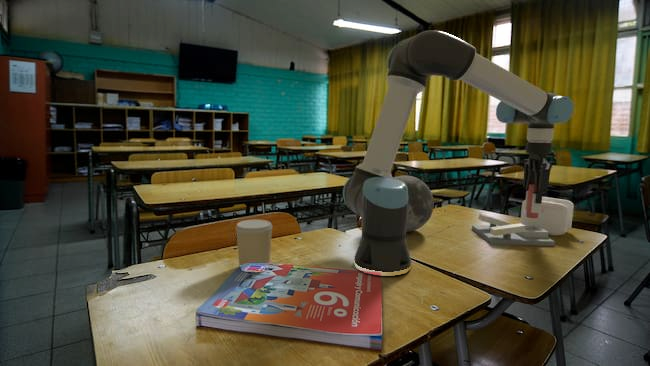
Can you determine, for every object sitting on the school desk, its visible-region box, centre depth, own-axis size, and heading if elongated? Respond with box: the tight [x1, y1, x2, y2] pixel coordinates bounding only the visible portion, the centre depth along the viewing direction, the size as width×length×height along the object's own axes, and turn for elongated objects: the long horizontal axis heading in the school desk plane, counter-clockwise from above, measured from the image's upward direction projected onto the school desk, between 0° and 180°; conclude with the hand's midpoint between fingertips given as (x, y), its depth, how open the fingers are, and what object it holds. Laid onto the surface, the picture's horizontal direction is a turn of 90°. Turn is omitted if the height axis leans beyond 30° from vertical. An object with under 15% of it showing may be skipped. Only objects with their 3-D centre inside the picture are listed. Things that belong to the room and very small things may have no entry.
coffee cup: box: [235, 218, 273, 266], centre depth 100 cm, size 9×9×12 cm
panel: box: [471, 223, 556, 247], centre depth 131 cm, size 20×18×4 cm
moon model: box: [393, 174, 435, 233], centre depth 136 cm, size 20×20×20 cm
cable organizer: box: [519, 196, 575, 236], centre depth 139 cm, size 15×11×12 cm
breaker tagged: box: [490, 222, 526, 236], centre depth 125 cm, size 10×3×2 cm, turn 88°
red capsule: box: [526, 184, 539, 218], centre depth 128 cm, size 4×4×11 cm
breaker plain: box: [477, 213, 511, 226], centre depth 136 cm, size 10×3×2 cm, turn 90°
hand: (532, 210), depth 129 cm, fingers closed on red capsule, 3 cm apart
